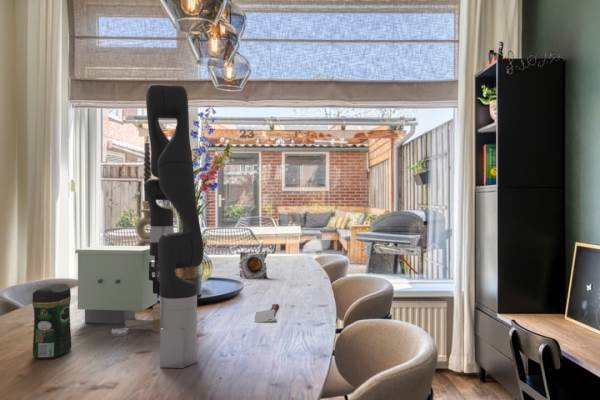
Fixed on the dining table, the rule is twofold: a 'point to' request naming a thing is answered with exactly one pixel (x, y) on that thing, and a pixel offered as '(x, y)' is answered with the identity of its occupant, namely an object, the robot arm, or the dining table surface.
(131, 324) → the wooden mallet
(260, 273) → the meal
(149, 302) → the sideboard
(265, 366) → the dining table surface
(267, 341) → the dining table surface
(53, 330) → the coffee jar
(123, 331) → the steel puck
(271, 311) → the kitchen cleaver
